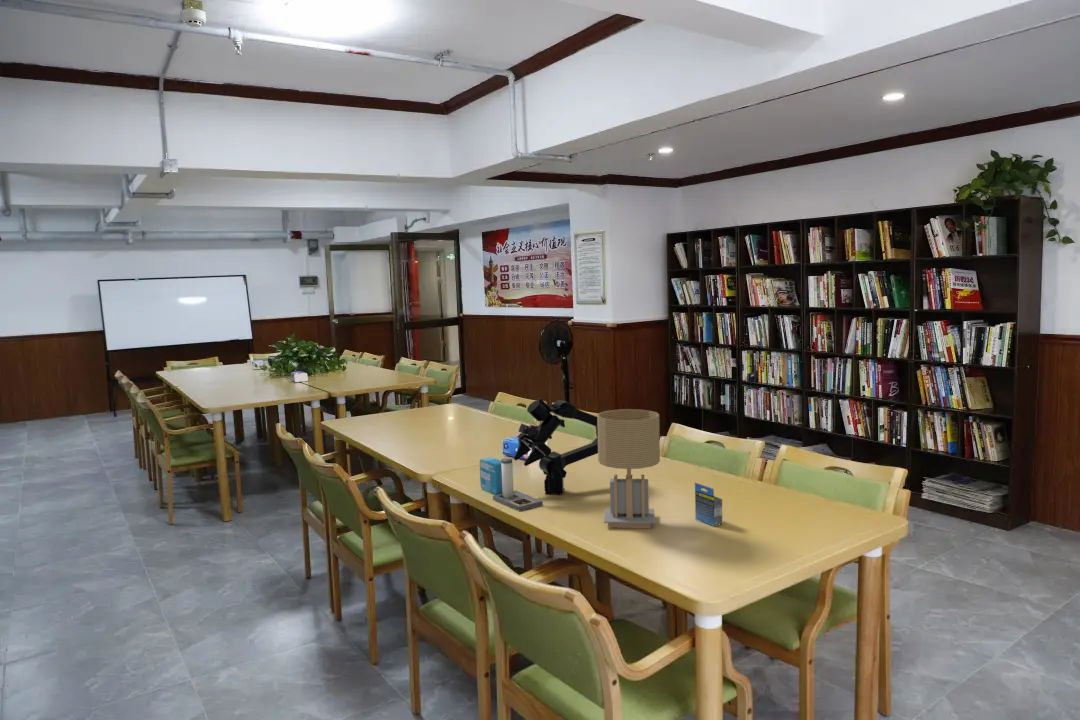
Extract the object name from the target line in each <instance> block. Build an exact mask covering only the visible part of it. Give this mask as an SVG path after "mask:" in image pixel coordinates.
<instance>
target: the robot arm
mask: <svg viewBox="0 0 1080 720" xmlns="http://www.w3.org/2000/svg"><path fill="white" fill-rule="evenodd" d="M526 411H527V413H528V414H529V415H531V416H532V417H533V419H535V420H536V421H537V422H540V424H539V425H533V424H529V425H527V424H524V423H521V424H520V426H519V428H518V432H519V434H518V435H517V441H518V448H517V450H516V453H515V454H514V456H513V460H514V461H518V460H520V459H521V458H522V457H523V456H525V455H527V454H528V456H527V457H526V460H525V461H524V462H523V465H524V466H525V467H526V466H527V467H528V466H529V465H531V464H533V463H535V462H537V461H539V462H538V467H539V469H540V471H541V470H542V473H543V475H545V478H544V481H543V484H544V486H543V487H544V488H543V489H544V492H545V493H544V494H545V495H563V494H564V491H565V490H566V489H565V486H564V485H565V484H564V478H566V476H567V471H566V470H565V468H566V467H567V466H568V465H571V464H574V463H576V462H579V461H581V460H585V459H586V458H590V457H593V456H595V455H598V426H597V416H596V415H593V414H591V413H588V412H585V411H583V410H580V409H579V408H577V406H574V405H573V404H572V403H570V402H567V401H564V400H559V399H557V400H556V401H554V403H552V404H547V403H546V402H545V401H544V400H543V399H542V398H540V397H538V398H537V399H536V400H534V401H533V402H531V403H530V404H529V405H528V406H527V410H526ZM560 417H562V419H561V418H560ZM564 418H566V419H573V420H577V421H580V422H583V423H586V424H588V425H590V426H594V427H595V434H596V438H595V439H594V440H593V441H592V442H589V443H588V444H585V445H582V446H581V447H580V446H579V447H577V448H575V449H571V450H569V451H566V452H564V453H560V452H556V451H552V449H551V447H550V446H548V445H547V444H546V443H547V441H548V440H552V438H553V434H554V433H555V431H556V430H557V429H558V427H562V428H565V427H566V425H565V419H564ZM529 452H530V453H529Z"/></svg>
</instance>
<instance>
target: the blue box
mask: <svg viewBox="0 0 1080 720" xmlns="http://www.w3.org/2000/svg"><path fill="white" fill-rule="evenodd" d="M479 479H480V481H479V482H480V489H482V490H483V491H485V490H486V492H487V491H488V492H487V493H490V494H493V495H494V494H495V495H499V494H502V468H501V459H497V458H494V457H492V456H489V457H484V458H483V457H482V458H480V460H479Z"/></svg>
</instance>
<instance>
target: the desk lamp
mask: <svg viewBox="0 0 1080 720" xmlns="http://www.w3.org/2000/svg"><path fill="white" fill-rule="evenodd" d="M596 417H597V426H598V454H597V461H598V462H599V465H602V466H604V467H607V468H613V469H620V470H621V469H622V470H623V469H624V470H626V474H625V478H618V474H614V476H613V478H610V480H609V500H610V501H609V503H610V504H609V505H610V507H606V508H605V512H604V513H605V514H604V520H603V523H604V524H608V526H607V528H608V527H618V529H621V528H620V527H623V528H622V529H652V525H653V524H655V525H656V517H655V508H650V506H649V505H650V503H649V500H650V499H649V497H650V496H649V478H645V474H641V476H640V477H641V478H633V474H632V470H635V469H636V470H639V469H644V468H645V469H646V468H652V467H654V466H657V465H658V464H659V463H660V461H661V455H660V454H661V453H660V452H661V451H660V449H661V447H660V446H661V445H660V442H661V441H660V440H661V439H660V414H659V413H658V412H657V411H653V410H648V409H647V410H646V409H636V408H635V409H633V408H623V409H613V410H606V411H601V412H599V413H598V414H597V416H596ZM626 527H627V528H626ZM630 527H632V528H630Z"/></svg>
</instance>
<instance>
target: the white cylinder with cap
mask: <svg viewBox="0 0 1080 720" xmlns="http://www.w3.org/2000/svg"><path fill="white" fill-rule="evenodd" d="M500 460H501V468H502V493H501V494H502V495H503V499H510V498H514V492H513V491H514V473H513V471H514V470H513V458H509V457H507V458H501V459H500Z"/></svg>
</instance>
